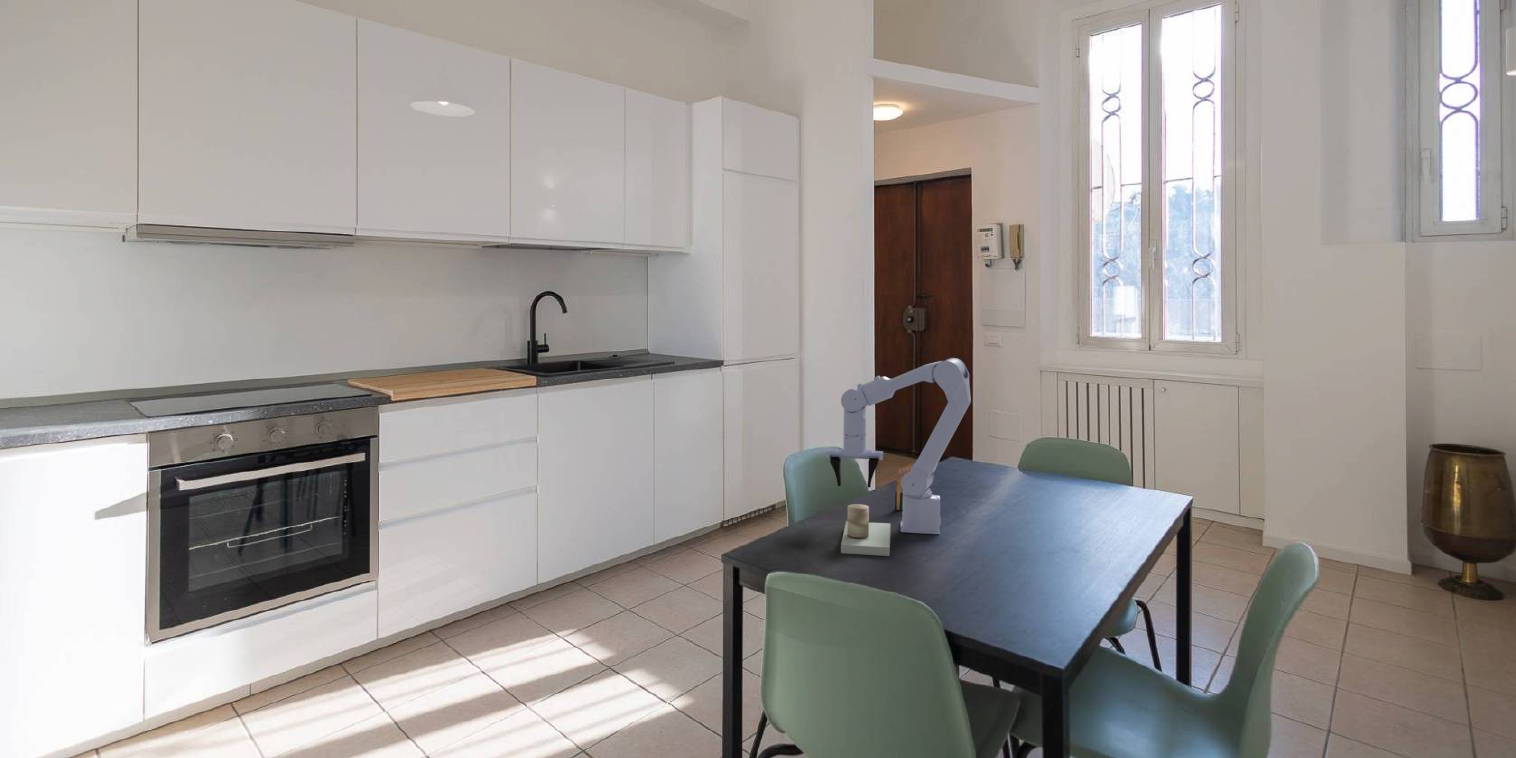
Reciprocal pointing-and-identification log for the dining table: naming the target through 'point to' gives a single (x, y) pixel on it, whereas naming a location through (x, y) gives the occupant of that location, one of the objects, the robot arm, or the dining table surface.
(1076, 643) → the dining table surface
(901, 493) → the ammunition clip
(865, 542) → the board
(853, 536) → the peg
